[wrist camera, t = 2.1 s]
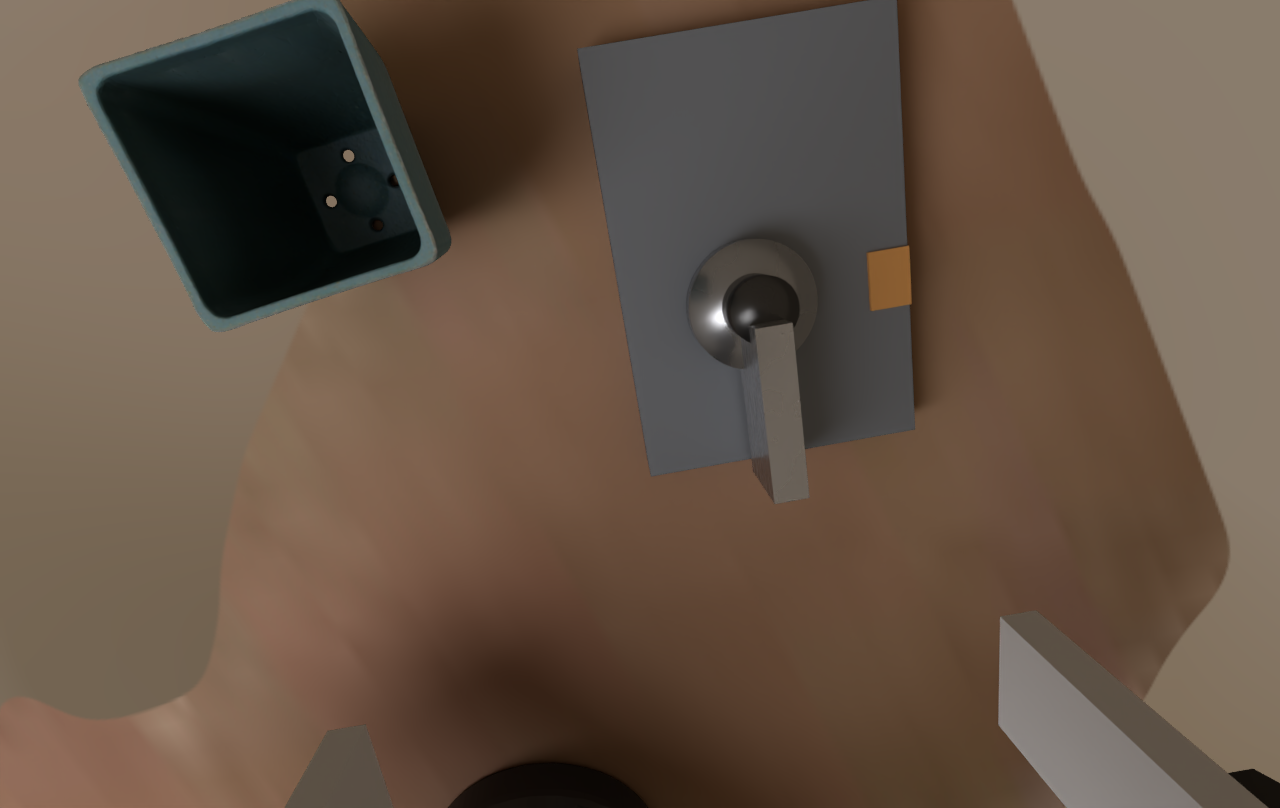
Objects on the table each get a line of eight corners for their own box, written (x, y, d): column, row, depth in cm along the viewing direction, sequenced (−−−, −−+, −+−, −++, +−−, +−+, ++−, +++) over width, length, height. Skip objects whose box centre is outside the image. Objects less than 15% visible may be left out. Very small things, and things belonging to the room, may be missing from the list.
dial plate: (648, 462, 33) (651, 477, 31) (579, 62, 28) (577, 47, 25) (896, 418, 33) (917, 430, 31) (876, 12, 28) (898, -7, 26)
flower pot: (488, 255, 30) (441, 260, 21) (321, 309, 30) (206, 337, 21) (418, 65, 27) (332, -17, 19) (236, 125, 27) (69, 72, 19)
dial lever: (677, 250, 28) (690, 252, 24) (803, 228, 28) (838, 226, 24) (709, 476, 31) (726, 512, 27) (823, 456, 31) (857, 489, 27)
